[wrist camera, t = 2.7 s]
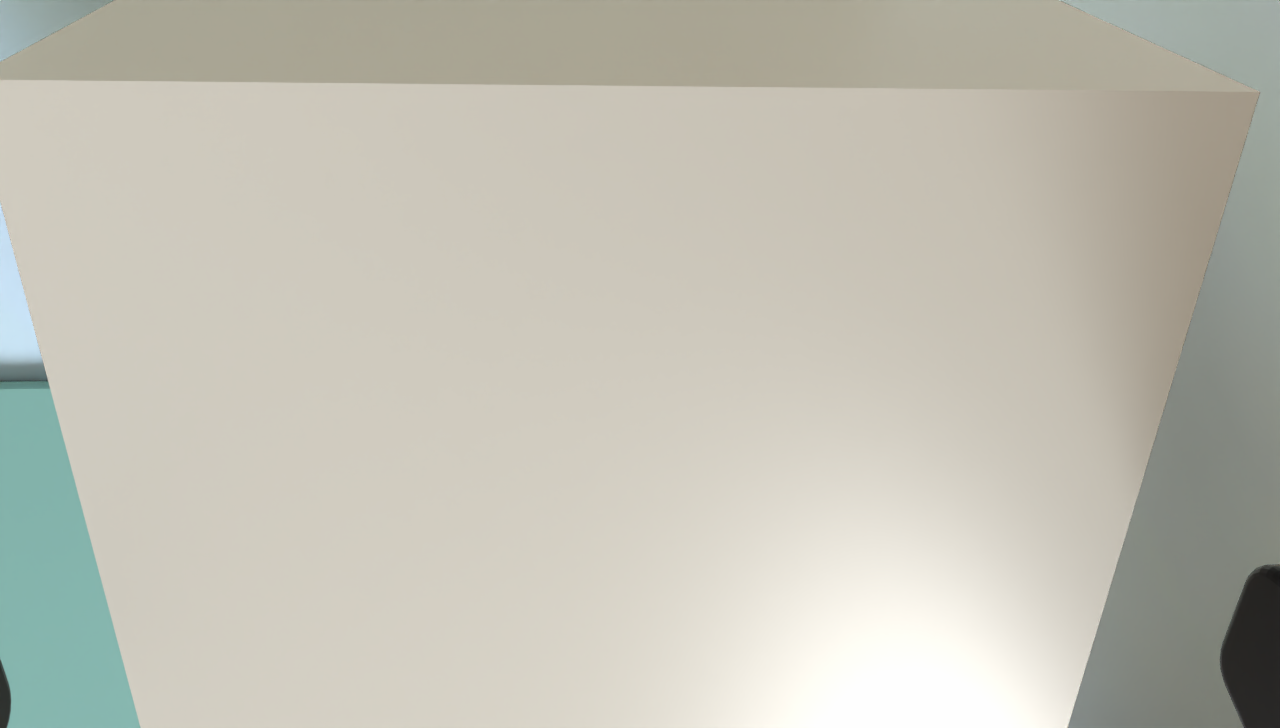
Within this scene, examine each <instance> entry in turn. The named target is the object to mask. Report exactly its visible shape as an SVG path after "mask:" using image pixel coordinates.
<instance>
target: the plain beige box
mask: <svg viewBox="0 0 1280 728" xmlns="http://www.w3.org/2000/svg"><path fill="white" fill-rule="evenodd" d="M1259 94H1260V92H1259V91H1257V90H1255V89H1253V88H1250V87H1248V86H1246V85H1244V84H1242V83H1239V82H1237V81H1235V80H1233V79H1231V78H1228V77H1226V76H1224V75H1222V74H1220V73H1217V72H1215V71H1213V70H1211V69H1209V68H1206V67H1204V66H1202V65H1200V64H1198V63H1195V62H1193V61H1191V60H1189V59H1187V58H1185V57H1182V56H1180V55H1178V54H1176V53H1174V52H1171V51H1169V50H1167V49H1165V48H1163V47H1160V46H1158V45H1156V44H1154V43H1152V42H1149V41H1147V40H1145V39H1143V38H1141V37H1138V36H1136V35H1134V34H1132V33H1130V32H1127V31H1125V30H1123V29H1121V28H1119V27H1117V26H1114V25H1112V24H1110V23H1108V22H1106V21H1103V20H1101V19H1099V18H1097V17H1095V16H1092V15H1090V14H1088V13H1086V12H1084V11H1081V10H1079V9H1077V8H1075V7H1073V6H1070V5H1068V4H1066V3H1064V2H1062V1H1059V0H114V1H112V2H110V3H108V4H106V5H105V6H103V7H101V8H99V9H97V10H95V11H94V12H92V13H90V14H88V15H86V16H84V17H82V18H81V19H79V20H77V21H75V22H73V23H71V24H69V25H68V26H66V27H64V28H62V29H60V30H58V31H57V32H55V33H53V34H51V35H49V36H47V37H45V38H44V39H42V40H40V41H38V42H36V43H34V44H33V45H31V46H29V47H27V48H25V49H23V50H21V51H20V52H18V53H16V54H14V55H12V56H10V57H8V58H7V59H5V60H3V61H1V62H0V202H1V206H2V210H3V214H4V217H5V221H6V225H7V229H8V232H9V236H10V240H11V244H12V247H13V251H14V255H15V259H16V262H17V266H18V270H19V274H20V277H21V281H22V285H23V289H24V292H25V296H26V300H27V304H28V307H29V311H30V315H31V319H32V322H33V326H34V330H35V334H36V337H37V341H38V345H39V349H40V352H41V356H42V360H43V364H44V367H45V371H46V375H47V379H48V382H49V386H50V390H51V394H52V397H53V401H54V405H55V409H56V412H57V416H58V420H59V424H60V427H61V431H62V435H63V439H64V442H65V446H66V450H67V454H68V457H69V461H70V465H71V469H72V472H73V476H74V480H75V484H76V487H77V491H78V495H79V499H80V503H81V506H82V510H83V514H84V518H85V521H86V525H87V529H88V533H89V536H90V540H91V544H92V548H93V551H94V555H95V559H96V563H97V566H98V570H99V574H100V578H101V581H102V585H103V589H104V593H105V596H106V600H107V604H108V608H109V611H110V615H111V619H112V623H113V626H114V630H115V634H116V638H117V641H118V645H119V649H120V653H121V656H122V660H123V664H124V668H125V671H126V675H127V679H128V683H129V686H130V690H131V694H132V698H133V701H134V705H135V709H136V713H137V716H138V720H139V724H140V728H1068V725H1069V721H1070V718H1071V715H1072V711H1073V708H1074V705H1075V701H1076V698H1077V695H1078V692H1079V688H1080V685H1081V682H1082V678H1083V675H1084V672H1085V668H1086V665H1087V662H1088V658H1089V655H1090V652H1091V649H1092V645H1093V642H1094V639H1095V635H1096V632H1097V629H1098V625H1099V622H1100V619H1101V616H1102V612H1103V609H1104V606H1105V602H1106V599H1107V596H1108V592H1109V589H1110V586H1111V583H1112V579H1113V576H1114V573H1115V569H1116V566H1117V563H1118V559H1119V556H1120V553H1121V550H1122V546H1123V543H1124V540H1125V536H1126V533H1127V530H1128V526H1129V523H1130V520H1131V517H1132V513H1133V510H1134V507H1135V503H1136V500H1137V497H1138V493H1139V490H1140V487H1141V484H1142V480H1143V477H1144V474H1145V470H1146V467H1147V464H1148V460H1149V457H1150V454H1151V450H1152V447H1153V444H1154V441H1155V437H1156V434H1157V431H1158V427H1159V424H1160V421H1161V417H1162V414H1163V411H1164V408H1165V404H1166V401H1167V398H1168V394H1169V391H1170V388H1171V384H1172V381H1173V378H1174V375H1175V371H1176V368H1177V365H1178V361H1179V358H1180V355H1181V351H1182V348H1183V345H1184V342H1185V338H1186V335H1187V332H1188V328H1189V325H1190V322H1191V318H1192V315H1193V312H1194V309H1195V305H1196V302H1197V299H1198V295H1199V292H1200V289H1201V285H1202V282H1203V279H1204V276H1205V272H1206V269H1207V266H1208V262H1209V259H1210V256H1211V252H1212V249H1213V246H1214V243H1215V239H1216V236H1217V233H1218V229H1219V226H1220V223H1221V219H1222V216H1223V213H1224V209H1225V206H1226V203H1227V200H1228V196H1229V193H1230V190H1231V186H1232V183H1233V180H1234V176H1235V173H1236V170H1237V167H1238V163H1239V160H1240V157H1241V153H1242V150H1243V147H1244V143H1245V140H1246V137H1247V134H1248V130H1249V127H1250V124H1251V120H1252V117H1253V114H1254V110H1255V107H1256V104H1257V101H1258V97H1259Z"/></svg>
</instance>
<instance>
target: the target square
mask: <svg viewBox="0 0 1280 728" xmlns="http://www.w3.org/2000/svg"><path fill="white" fill-rule="evenodd" d="M0 659H1V662H2V665H3V668H4V671H5V674H6V677H7V680H8V683H9V686H10V691H11V712H10V718H9V723H8V726H7V728H140V724H139V720H138V716H137V713H136V709H135V705H134V701H133V698H132V694H131V690H130V686H129V683H128V679H127V675H126V671H125V668H124V664H123V660H122V656H121V653H120V649H119V645H118V641H117V638H116V634H115V630H114V626H113V623H112V619H111V615H110V611H109V608H108V604H107V600H106V596H105V593H104V589H103V585H102V581H101V578H100V574H99V570H98V566H97V563H96V559H95V555H94V551H93V548H92V544H91V540H90V536H89V533H88V529H87V525H86V521H85V518H84V514H83V510H82V506H81V503H80V499H79V495H78V491H77V487H76V484H75V480H74V476H73V472H72V469H71V465H70V461H69V457H68V454H67V450H66V446H65V442H64V439H63V435H62V431H61V427H60V424H59V420H58V416H57V412H56V409H55V405H54V401H53V397H52V394H51V390H50V386H49V382H48V381H17V382H0Z"/></svg>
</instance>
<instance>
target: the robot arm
mask: <svg viewBox="0 0 1280 728" xmlns="http://www.w3.org/2000/svg"><path fill="white" fill-rule="evenodd" d="M1220 666H1221V672H1222V676H1223V680H1224V683H1225V686H1226V688H1227V690H1228V693H1229V695H1230V697H1231V699H1232V702H1233V704H1234V706H1235V709H1236V711H1237V713H1238V715H1239V718H1240V720H1241V722H1242V724H1243V727H1244V728H1280V564H1278V565H1264V566H1261V567H1258V568H1256V569H1255V570H1254V571H1253V572H1252V573H1251V574H1250V575H1249V576H1248V578H1247V580H1246V582H1245V585H1244V587H1243V590H1242V593H1241V595H1240V598H1239V601H1238V603H1237V606H1236V609H1235V611H1234V614H1233V617H1232V619H1231V622H1230V625H1229V627H1228V630H1227V633H1226V635H1225V638H1224V641H1223V643H1222V647H1221V654H1220ZM10 712H11V691H10V686H9V683H8V680H7V677H6V674H5V671H4V668H3V665H2V662H1V659H0V728H7V726H8V723H9V718H10Z"/></svg>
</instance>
